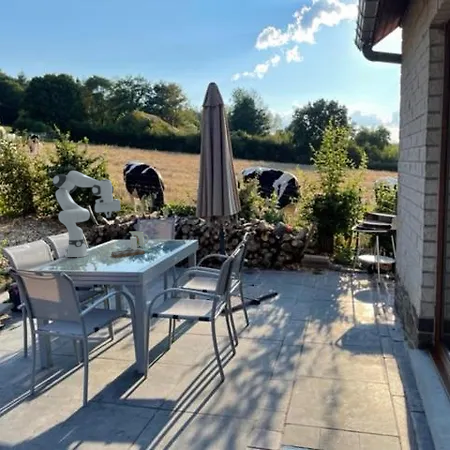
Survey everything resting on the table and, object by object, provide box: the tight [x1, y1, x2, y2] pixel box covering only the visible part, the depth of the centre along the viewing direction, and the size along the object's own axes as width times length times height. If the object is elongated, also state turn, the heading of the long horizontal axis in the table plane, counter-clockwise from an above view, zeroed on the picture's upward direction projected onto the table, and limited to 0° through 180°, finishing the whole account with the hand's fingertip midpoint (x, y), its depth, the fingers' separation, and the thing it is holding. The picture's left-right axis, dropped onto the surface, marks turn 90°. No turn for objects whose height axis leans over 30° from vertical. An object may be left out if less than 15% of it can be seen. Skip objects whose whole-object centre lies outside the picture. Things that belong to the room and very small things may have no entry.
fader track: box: [110, 247, 145, 259], centre depth 383 cm, size 25×10×4 cm, turn 124°
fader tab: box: [129, 236, 138, 251], centre depth 385 cm, size 4×6×12 cm, turn 34°
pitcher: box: [129, 230, 149, 248], centre depth 423 cm, size 11×18×14 cm, turn 79°
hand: (108, 217), depth 373 cm, fingers closed
